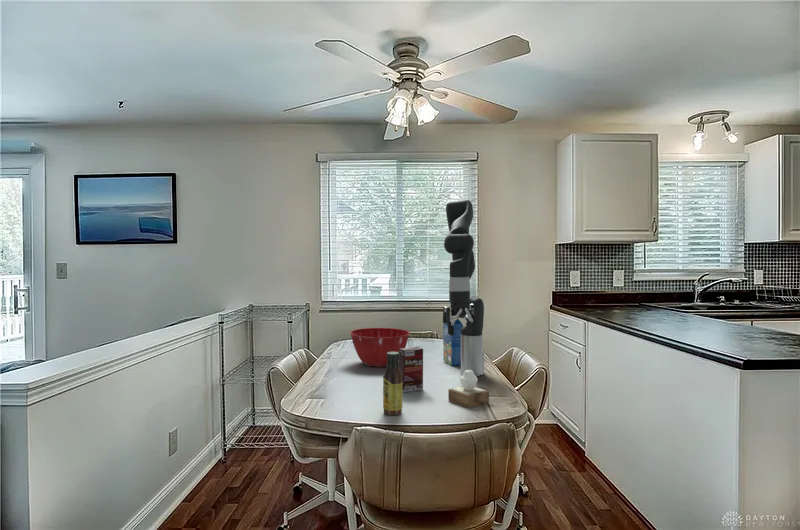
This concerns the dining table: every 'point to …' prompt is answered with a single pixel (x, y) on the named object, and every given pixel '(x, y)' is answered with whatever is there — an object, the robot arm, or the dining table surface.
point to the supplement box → (411, 368)
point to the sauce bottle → (392, 385)
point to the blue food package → (452, 344)
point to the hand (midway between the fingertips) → (460, 333)
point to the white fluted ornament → (468, 380)
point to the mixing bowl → (378, 344)
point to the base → (468, 396)
